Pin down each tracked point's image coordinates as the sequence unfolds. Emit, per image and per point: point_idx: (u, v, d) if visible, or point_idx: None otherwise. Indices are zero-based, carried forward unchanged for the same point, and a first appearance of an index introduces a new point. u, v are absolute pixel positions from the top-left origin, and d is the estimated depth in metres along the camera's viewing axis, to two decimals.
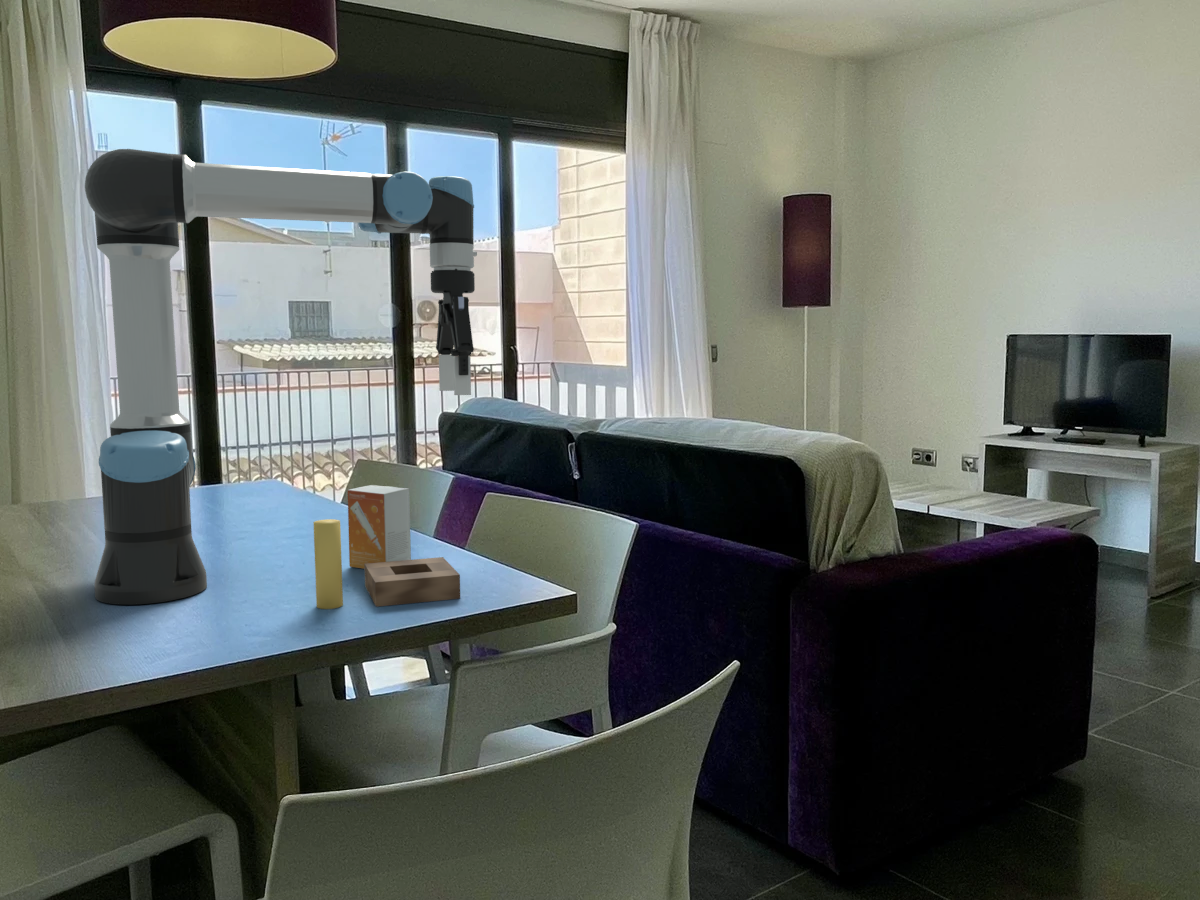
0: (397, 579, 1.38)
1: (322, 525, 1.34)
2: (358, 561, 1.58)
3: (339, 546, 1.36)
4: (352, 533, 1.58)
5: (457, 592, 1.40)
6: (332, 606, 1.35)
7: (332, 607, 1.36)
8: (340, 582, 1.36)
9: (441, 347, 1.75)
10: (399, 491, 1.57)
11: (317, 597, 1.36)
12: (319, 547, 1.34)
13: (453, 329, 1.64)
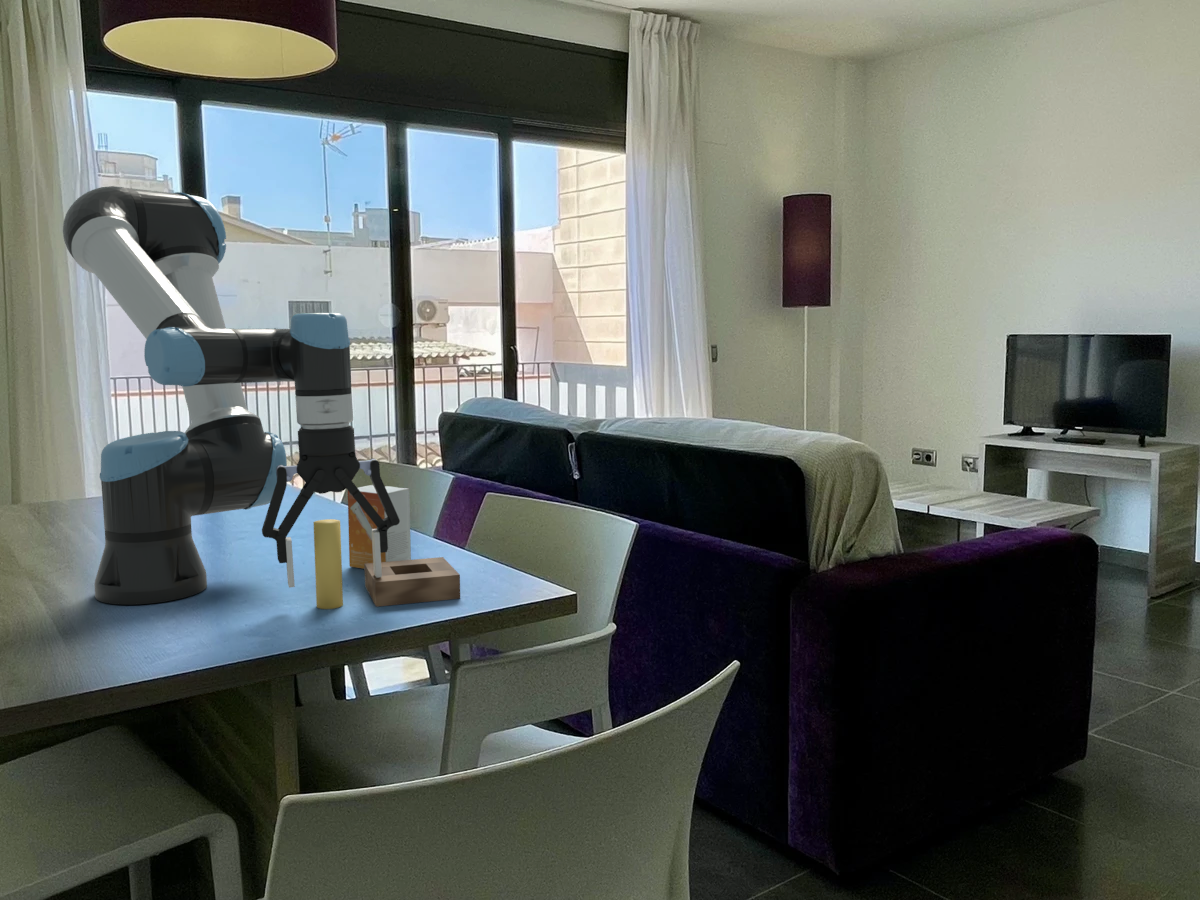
0: (397, 579, 1.38)
1: (322, 525, 1.34)
2: (358, 560, 1.58)
3: (339, 546, 1.36)
4: (352, 533, 1.58)
5: (457, 592, 1.40)
6: (332, 606, 1.35)
7: (332, 607, 1.36)
8: (340, 582, 1.36)
9: None
10: (399, 491, 1.57)
11: (317, 597, 1.36)
12: (319, 547, 1.34)
13: (293, 503, 1.35)
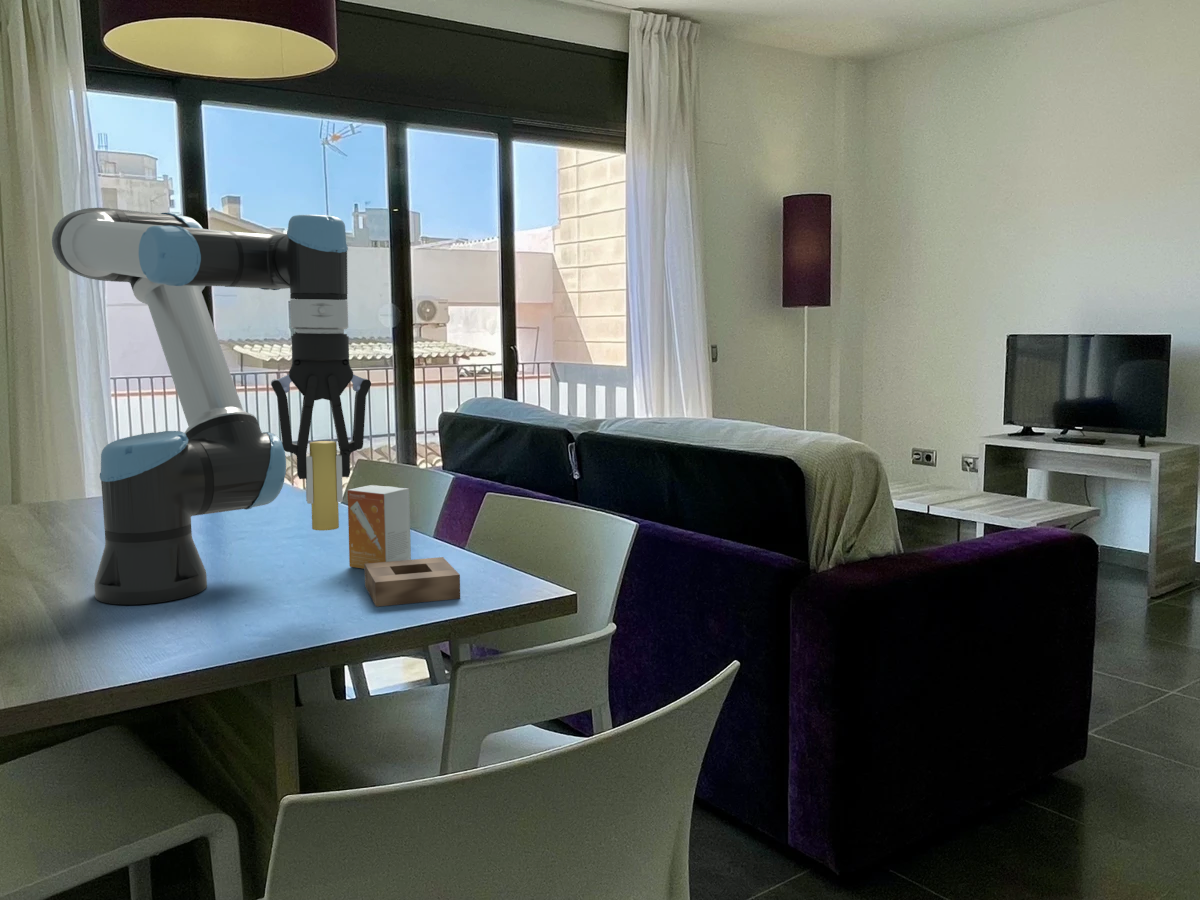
0: (397, 579, 1.38)
1: (318, 445, 1.33)
2: (358, 561, 1.58)
3: (335, 467, 1.34)
4: (352, 533, 1.58)
5: (457, 592, 1.40)
6: (328, 528, 1.34)
7: (328, 529, 1.34)
8: (336, 504, 1.35)
9: None
10: (399, 491, 1.57)
11: (313, 519, 1.35)
12: (315, 467, 1.33)
13: None
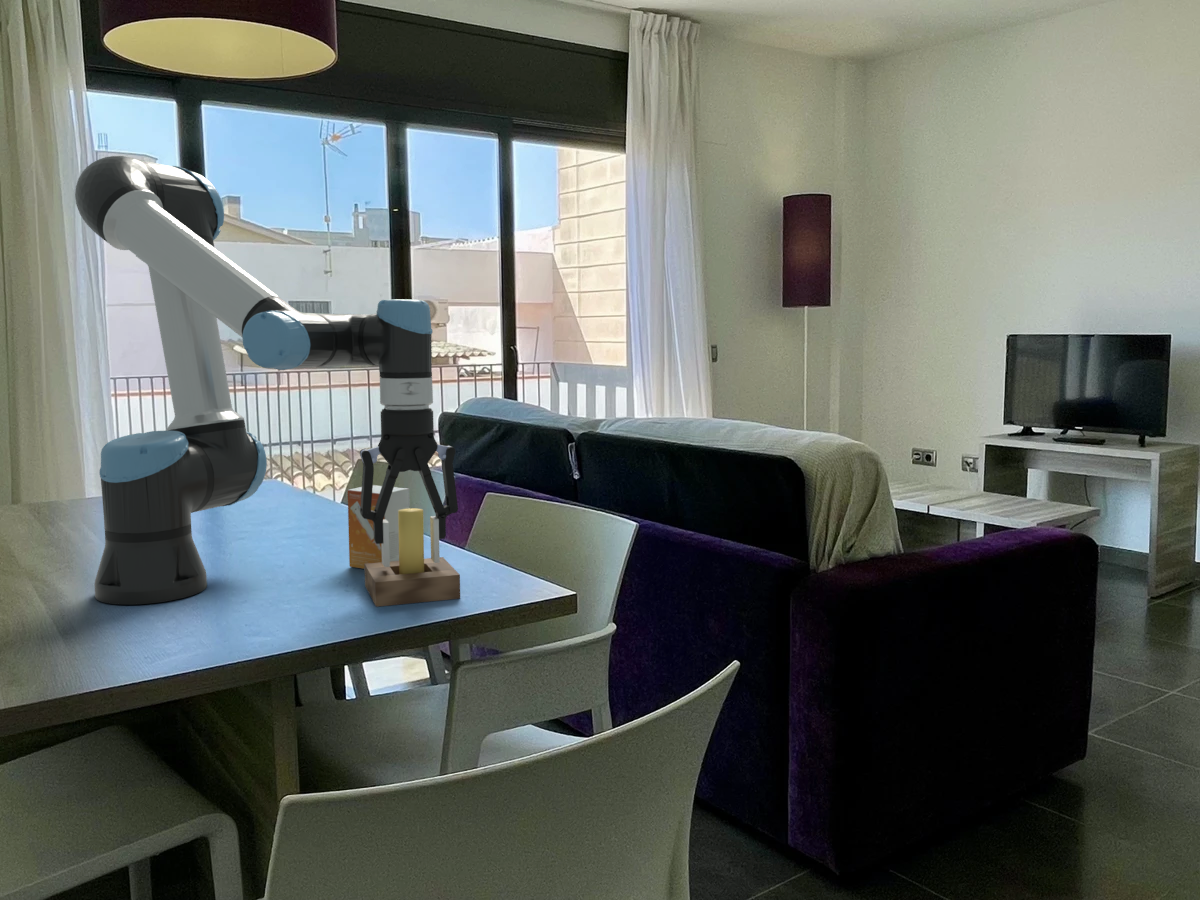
0: (397, 579, 1.38)
1: (407, 513, 1.41)
2: (358, 561, 1.58)
3: (422, 534, 1.42)
4: (352, 533, 1.58)
5: (457, 592, 1.40)
6: None
7: None
8: (422, 568, 1.43)
9: (432, 505, 1.45)
10: (399, 491, 1.57)
11: None
12: (404, 534, 1.41)
13: (382, 485, 1.42)
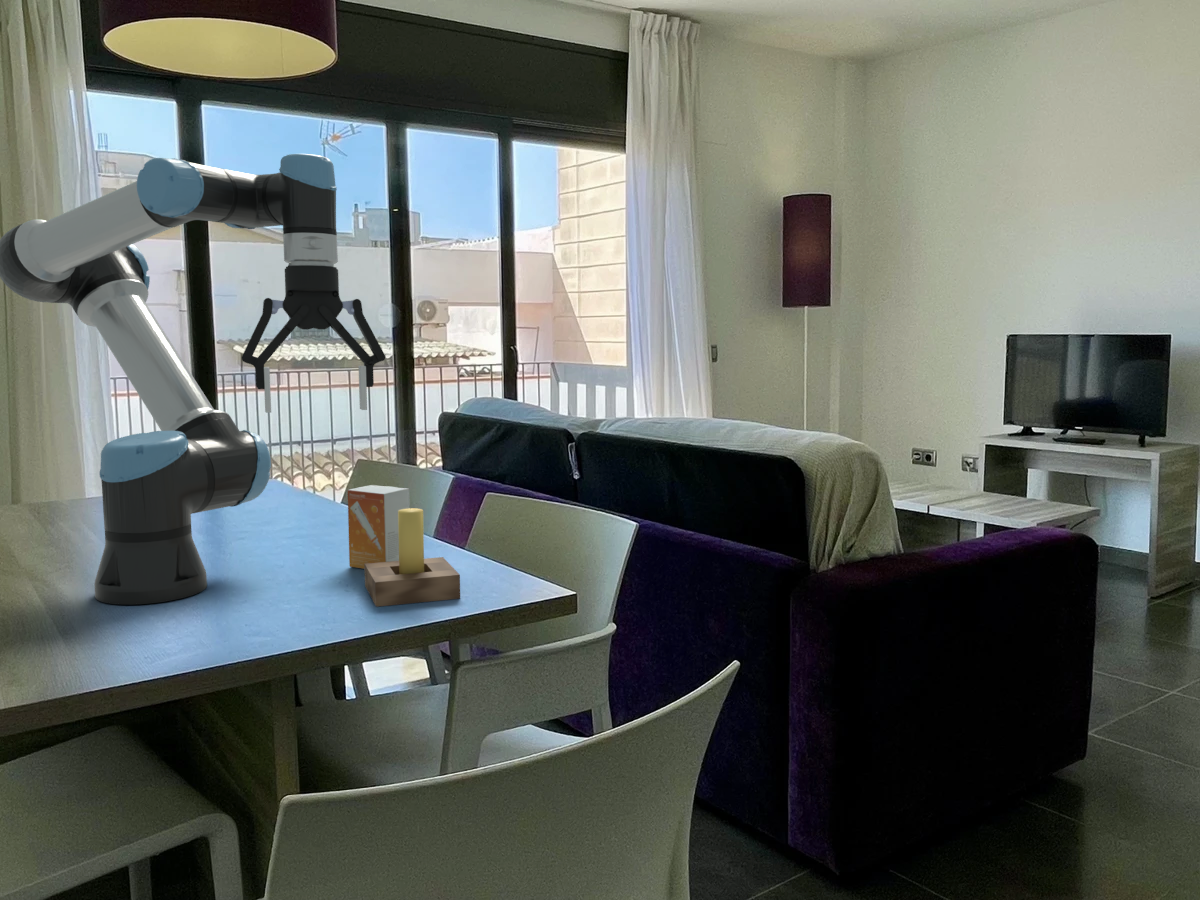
0: (397, 579, 1.38)
1: (407, 514, 1.40)
2: (358, 560, 1.58)
3: (422, 534, 1.42)
4: (352, 533, 1.58)
5: (457, 592, 1.40)
6: None
7: None
8: (422, 568, 1.43)
9: None
10: (399, 491, 1.57)
11: None
12: (404, 535, 1.41)
13: (275, 336, 1.42)
